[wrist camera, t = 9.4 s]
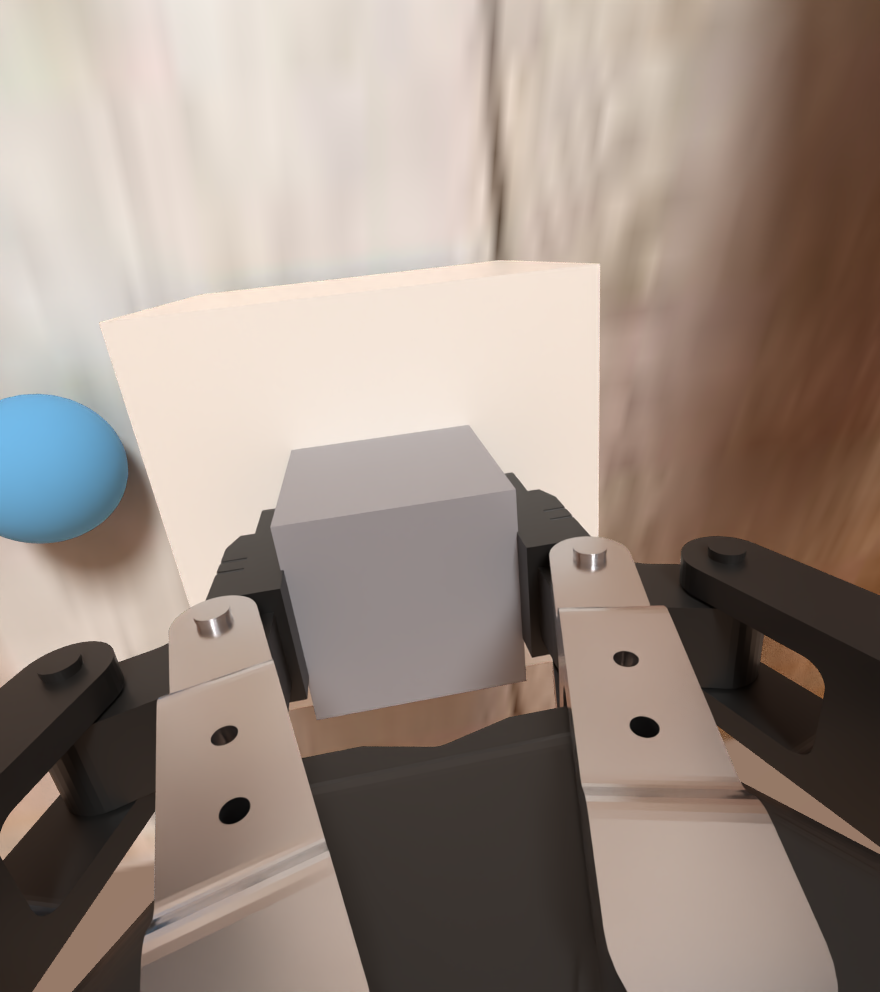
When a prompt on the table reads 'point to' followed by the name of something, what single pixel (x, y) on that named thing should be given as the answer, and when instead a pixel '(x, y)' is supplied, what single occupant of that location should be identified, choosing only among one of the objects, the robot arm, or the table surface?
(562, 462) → the cream square block
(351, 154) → the table surface
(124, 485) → the ball
